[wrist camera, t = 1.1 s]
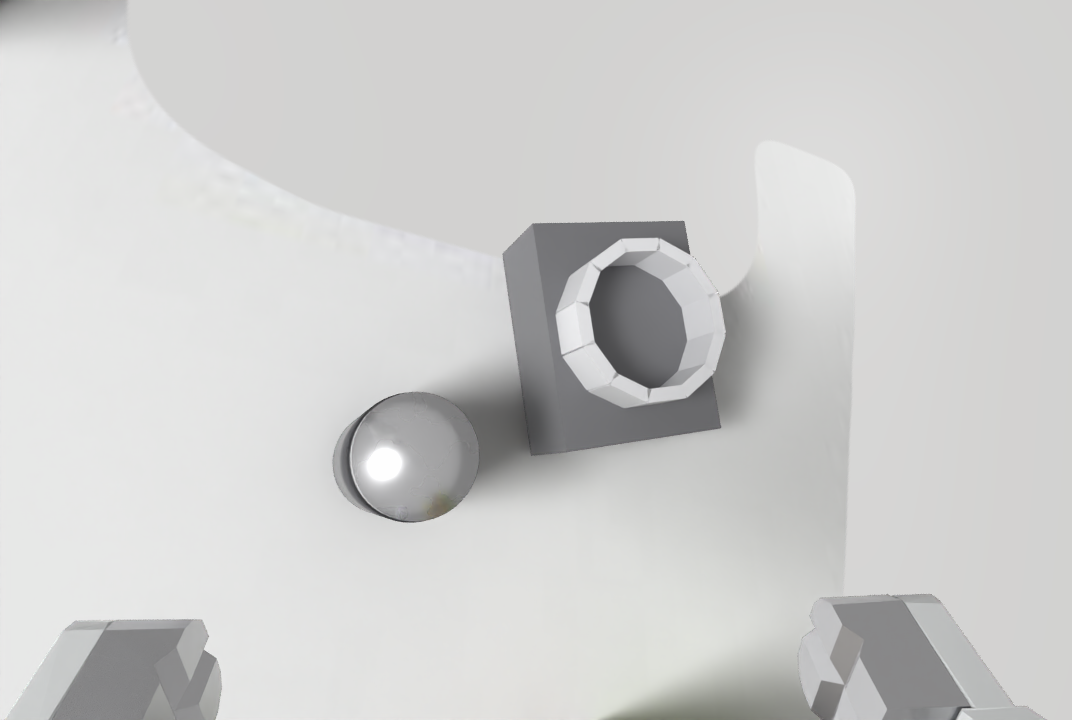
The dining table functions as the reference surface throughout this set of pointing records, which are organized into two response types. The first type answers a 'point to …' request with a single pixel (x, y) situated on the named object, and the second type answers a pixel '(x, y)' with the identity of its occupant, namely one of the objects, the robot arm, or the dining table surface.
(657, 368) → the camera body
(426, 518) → the dark grey metallic cylinder
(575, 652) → the dining table surface
